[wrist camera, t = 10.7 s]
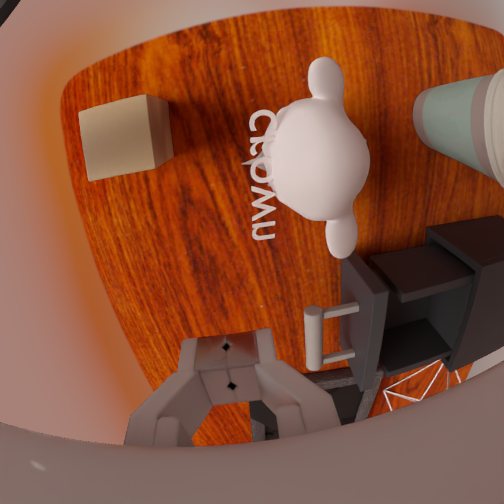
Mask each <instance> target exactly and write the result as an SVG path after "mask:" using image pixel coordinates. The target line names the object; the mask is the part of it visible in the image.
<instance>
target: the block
mask: <svg viewBox="0 0 504 504" xmlns="http://www.w3.org/2000/svg"><path fill="white" fill-rule="evenodd" d="M79 121H80V129H81V137H82V144H83V150H84V157H85V163H86V169H87V174H88V179H89V182H90V181H95V180H99V179H104V178H109V177H114V176H119V175H124V174H129V173H134V172H140V171H145V170H151V169H155V168H157V167H159V166H160V165H162V164H163V163H165V162H166V161H168V160H170V159H171V158H173V157H174V151H173V143H172V135H171V127H170V118H169V109H168V101H166V100H163V99H160V98H157V97H154V96H151V95H148V94H143V95H138V96H134V97H130V98H126V99H122V100H118V101H114V102H110V103H107V104H103V105H99V106H96V107H93V108H89V109H86V110H83V111H80V112H79Z"/></svg>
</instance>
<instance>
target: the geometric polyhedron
mask: <svg viewBox="0 0 504 504" xmlns="http://www.w3.org/2000/svg"><path fill="white" fill-rule="evenodd" d="M437 361H439V360H437ZM437 361H435V362H433V363H432V364H434V363H436V362H437ZM432 364H430V365H428V366H426V367H425V368H423V369H421V370H419V371H418V372H416V373H414V374H412V375H410V376H409V377H407V378H405V379H403V380H401V381H399V382H397V383H395V384H393V385H392V386H390V387H388V388H386V389H384V391H383V392H384V395H385V397H386V400H387V402H388V405H389V407H390V410H391V411H392V408H391V406H390V403H389V400H388V398H387V395H386V393H385V392H388V393H390V394H393V395H396V396H399V397H402V398H405V399H408V400H410V401H413V402H417V401H421V400H422V398H423V397H424V395H425V394H426V392H427V391H428V389H429V387H430V386H431V384H432V383H433V381H434V379H435V378H436V376H437V375H438V373H439V371H440V369H441V368H442V366H443V363H442V365H441V367H440V368H439V370H438V372H437V373H436V375H435V377H434V378H433V380H432V382H431V383H430V385H429V386H428V388H427V390H426V391H425V393H424V394H423V396H422V397H421V399H420V400H418V399H415V398H411V397H407V396H404V395H400V394H397V393H394V392H390V391H387V389H389V388H391V387H393V386H394V385H396V384H398V383H400V382H402V381H404V380H406V379H408V378H410V377H411V376H413V375H415V374H417V373H419V372H420V371H422V370H424V369H426V368H427V367H429V366H431V365H432ZM455 373H456V375H457V377H458V380H459V383H461V381H460V378H459V376H458V373H457V371H456V370H455ZM447 389H449V371H448V374H447ZM411 399H412V400H411ZM414 400H416V401H414Z"/></svg>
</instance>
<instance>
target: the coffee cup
mask: <svg viewBox="0 0 504 504" xmlns="http://www.w3.org/2000/svg"><path fill="white" fill-rule="evenodd" d="M413 123H414V127H415V130H416V133H417V135H418V136H419V138H420V140H421V141H422V142H423V143H424V144H425V145H426V146H427V147H429V148H431V149H433V150H435V151H438V152H440V153H442V154H444V155H446V156H448V157H451V158H453V159H455V160H457V161H459V162H461V163H463V164H465V165H467V166H469V167H471V168H473V169H475V170H477V171H479V172H481V173H483V174H485V175H487V176H489V177H490V178H492V179H494V180H496V181H498V182H499V183H500V185H501V186H502V187H503V188H504V68H503V69H501V70H499V71H498V72H497V73H496V74H492V75H487V76H481V77H476V78H471V79H467V80H462V81H457V82H453V83H449V84H445V85H440V86H437V87H433V88H429V89H426V90H424V91H422V92H421V93H420V94H419V95H418V97H417V98H416V100H415V103H414V107H413Z"/></svg>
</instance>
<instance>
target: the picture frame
mask: <svg viewBox="0 0 504 504" xmlns="http://www.w3.org/2000/svg"><path fill="white" fill-rule="evenodd" d="M302 375H303V376H305V377H306V378H307V379H309V380H310V381H312V382H313V383H314V384H316V385H317V386H319V387H320V388H322V389H323V390H324V391H326V392H327V393H329V394H330V395H331V396H332V399H333V402H334V405H335V408H336V411H337V414H338V417H339V420H340V423H341V426H343V425H347V424H350V423H354V422H358V421H361V420H365V419H367V416H368V414H369V412H370V409H371V407H372V404H373V402H374V399H375V397H376V394H377V391H378V389H379V386H380V383H381V381H382V378H383V375H384V372H383V370H382V368H381V366H380V364H379V362H378V366H377V371H376V376H375V381H374V385H373V388H372V389H370V390H366V391H362V392H361V391H360V389H359V387H358V384H357V382H356V380H355V377H354V375H353V373H352V371H351V368H350V367H347V368H342V369H336V370H330V371H323V372H317V373H310V374H302ZM249 406H250V417H251V428H252V439H253V442H260V441H267V440H274V439H280V438H279V431H278V424H277V417H276V415H275V414H274V413H273V412H272V411H271V410H270V409H269V408H268V407H267V406H266V404H265V403H264V402H263V401H262V400H256V401H249Z"/></svg>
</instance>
